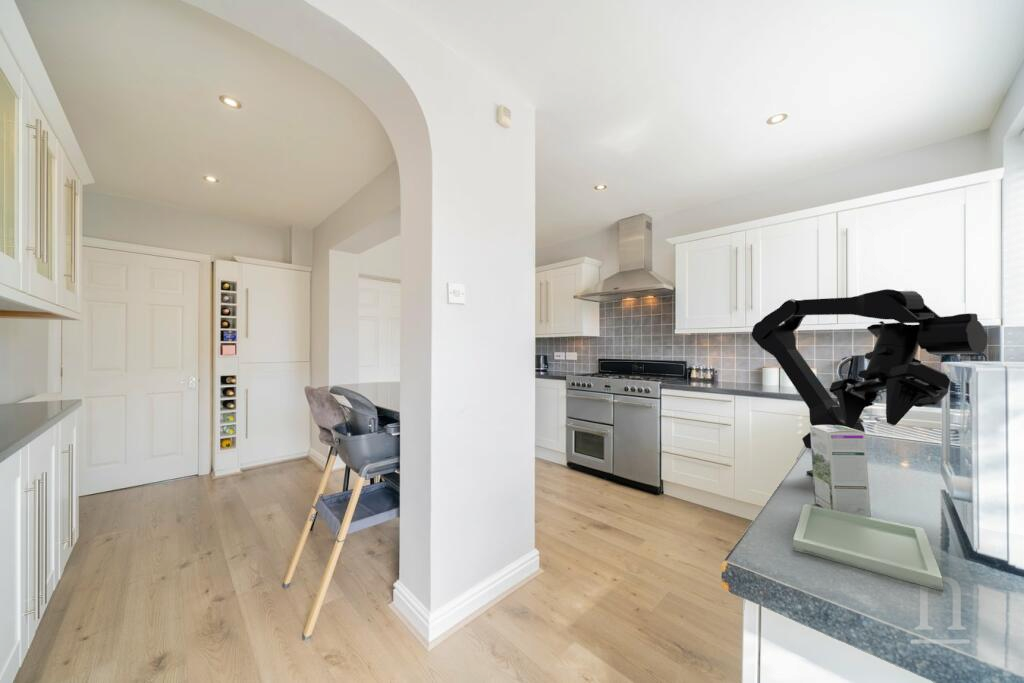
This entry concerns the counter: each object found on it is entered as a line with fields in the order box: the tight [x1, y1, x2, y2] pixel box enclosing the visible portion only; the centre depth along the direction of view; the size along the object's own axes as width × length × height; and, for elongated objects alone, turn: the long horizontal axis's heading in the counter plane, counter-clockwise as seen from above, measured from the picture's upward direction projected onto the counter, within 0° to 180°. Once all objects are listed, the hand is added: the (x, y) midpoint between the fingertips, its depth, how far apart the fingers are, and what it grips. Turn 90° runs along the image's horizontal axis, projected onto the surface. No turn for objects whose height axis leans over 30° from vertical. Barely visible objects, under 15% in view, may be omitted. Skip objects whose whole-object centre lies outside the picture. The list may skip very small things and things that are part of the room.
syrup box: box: [809, 424, 872, 518], centre depth 65 cm, size 6×6×14 cm
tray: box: [792, 503, 944, 591], centre depth 54 cm, size 16×14×2 cm
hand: (868, 425), depth 67 cm, fingers open, 9 cm apart
